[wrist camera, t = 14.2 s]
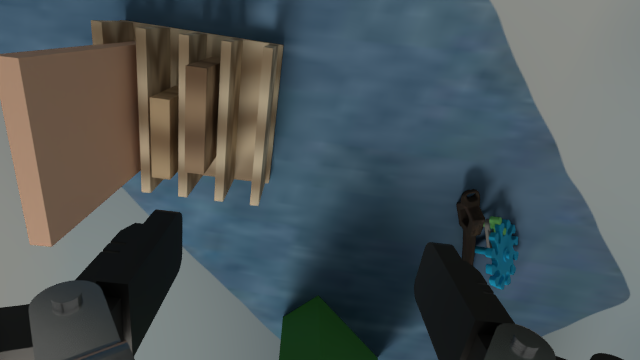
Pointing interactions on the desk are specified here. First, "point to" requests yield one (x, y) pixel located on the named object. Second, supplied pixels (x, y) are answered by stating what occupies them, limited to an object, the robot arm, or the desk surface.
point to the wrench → (470, 222)
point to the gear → (499, 250)
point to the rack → (234, 98)
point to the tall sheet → (70, 131)
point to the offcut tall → (201, 114)
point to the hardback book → (319, 335)
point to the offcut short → (164, 132)
